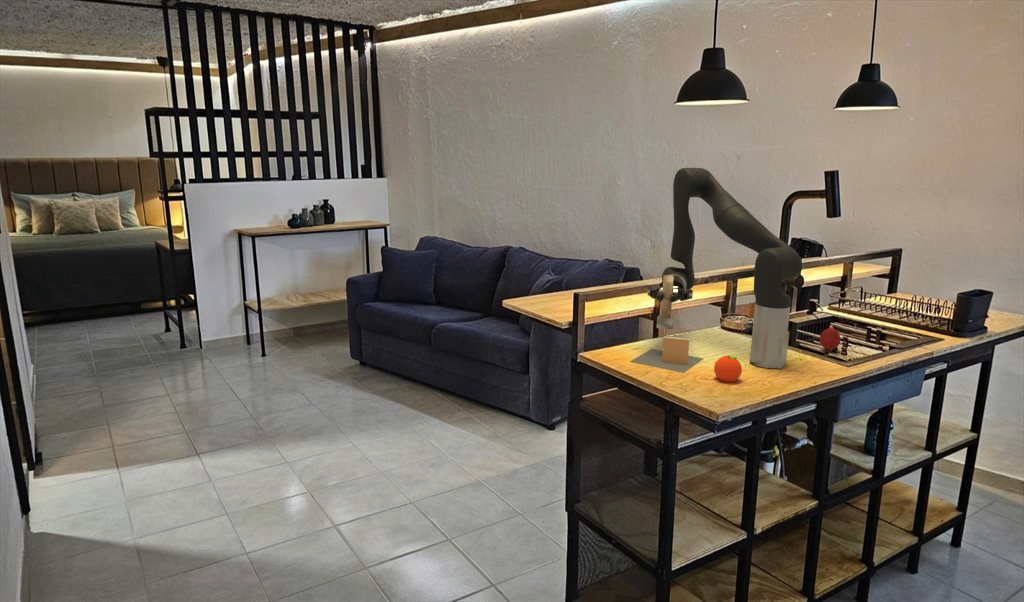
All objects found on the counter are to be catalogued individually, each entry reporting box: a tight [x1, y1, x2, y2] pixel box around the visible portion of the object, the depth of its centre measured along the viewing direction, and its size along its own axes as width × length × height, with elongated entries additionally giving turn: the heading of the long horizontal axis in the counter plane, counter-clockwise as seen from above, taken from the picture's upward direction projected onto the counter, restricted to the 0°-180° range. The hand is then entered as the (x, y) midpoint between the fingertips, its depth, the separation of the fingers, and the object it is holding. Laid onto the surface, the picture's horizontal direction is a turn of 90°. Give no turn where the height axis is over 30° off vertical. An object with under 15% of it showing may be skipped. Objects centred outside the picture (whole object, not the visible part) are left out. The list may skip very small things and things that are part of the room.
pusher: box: [656, 275, 675, 330], centre depth 193 cm, size 4×4×15 cm
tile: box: [662, 336, 690, 364], centre depth 188 cm, size 7×1×7 cm, turn 70°
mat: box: [629, 348, 705, 374], centre depth 191 cm, size 16×16×1 cm
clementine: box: [713, 355, 747, 383], centre depth 174 cm, size 8×7×7 cm
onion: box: [819, 324, 841, 351], centre depth 203 cm, size 6×6×8 cm
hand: (666, 298), depth 190 cm, fingers closed on pusher, 2 cm apart
